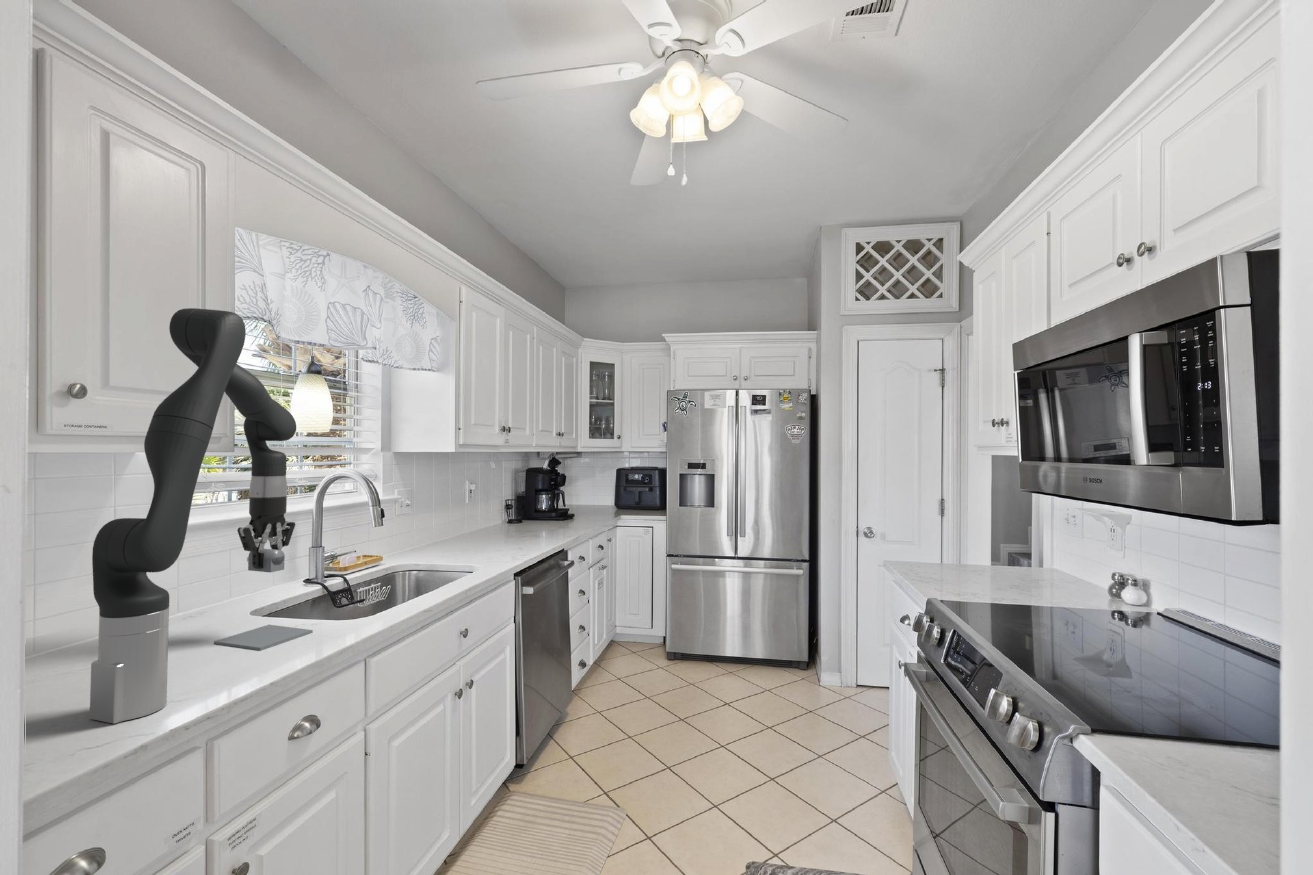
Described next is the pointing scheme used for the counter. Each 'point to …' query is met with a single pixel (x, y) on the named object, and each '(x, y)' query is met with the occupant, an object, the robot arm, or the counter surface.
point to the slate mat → (263, 637)
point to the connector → (269, 561)
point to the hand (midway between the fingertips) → (266, 566)
